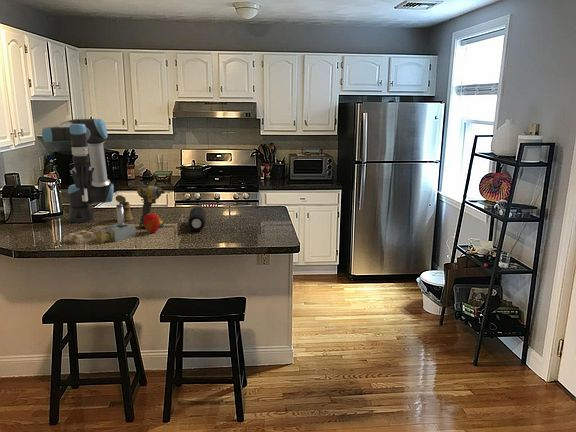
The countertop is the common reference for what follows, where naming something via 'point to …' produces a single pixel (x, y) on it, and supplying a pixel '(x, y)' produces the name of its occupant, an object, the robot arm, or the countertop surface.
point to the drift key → (103, 237)
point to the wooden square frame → (81, 236)
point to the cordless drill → (149, 200)
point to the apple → (151, 222)
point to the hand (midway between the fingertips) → (85, 200)
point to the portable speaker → (197, 219)
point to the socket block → (120, 231)
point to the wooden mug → (125, 207)
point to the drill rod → (120, 215)
